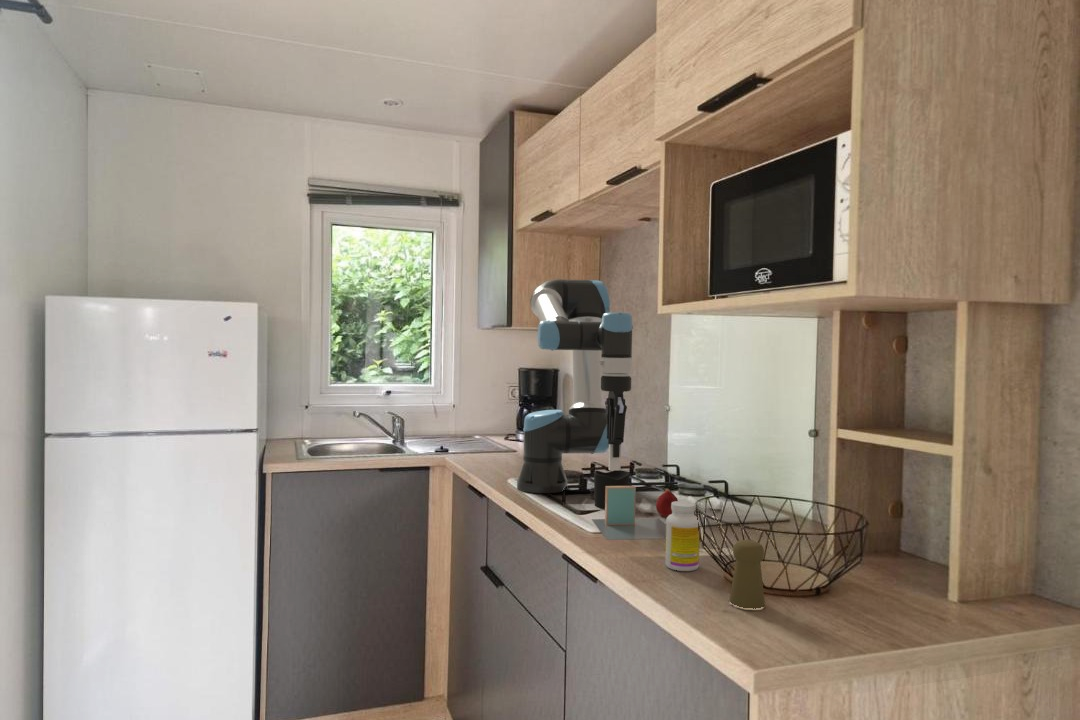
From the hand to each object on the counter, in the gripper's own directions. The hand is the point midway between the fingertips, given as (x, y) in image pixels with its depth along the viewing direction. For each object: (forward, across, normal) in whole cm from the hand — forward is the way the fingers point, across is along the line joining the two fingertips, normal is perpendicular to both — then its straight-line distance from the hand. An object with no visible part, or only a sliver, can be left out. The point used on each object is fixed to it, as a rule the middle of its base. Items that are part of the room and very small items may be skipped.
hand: (614, 469), depth 174 cm
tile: (+12, +6, 0) cm, 13 cm away
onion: (+13, -1, +14) cm, 19 cm away
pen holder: (+13, -12, +2) cm, 18 cm away
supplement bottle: (+14, +34, +6) cm, 38 cm away
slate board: (+13, +10, +2) cm, 17 cm away
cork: (+14, +54, +11) cm, 57 cm away
